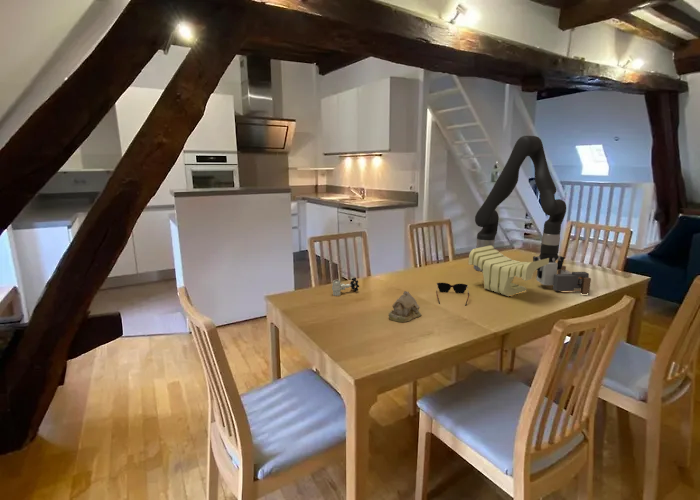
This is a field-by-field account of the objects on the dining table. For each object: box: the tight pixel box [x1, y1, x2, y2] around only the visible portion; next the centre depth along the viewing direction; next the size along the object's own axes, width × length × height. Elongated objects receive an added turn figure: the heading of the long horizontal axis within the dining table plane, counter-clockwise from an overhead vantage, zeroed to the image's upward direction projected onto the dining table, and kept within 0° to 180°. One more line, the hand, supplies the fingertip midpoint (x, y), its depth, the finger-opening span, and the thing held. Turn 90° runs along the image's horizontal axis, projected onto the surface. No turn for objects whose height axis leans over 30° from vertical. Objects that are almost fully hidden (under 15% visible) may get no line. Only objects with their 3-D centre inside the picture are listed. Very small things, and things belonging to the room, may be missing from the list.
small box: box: [535, 259, 558, 286], centre depth 187 cm, size 8×6×10 cm
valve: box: [331, 277, 360, 297], centre depth 182 cm, size 7×7×12 cm
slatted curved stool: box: [468, 245, 549, 297], centre depth 182 cm, size 30×16×18 cm, turn 33°
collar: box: [552, 271, 590, 292], centre depth 181 cm, size 14×3×8 cm, turn 92°
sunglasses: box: [435, 282, 470, 307], centre depth 174 cm, size 14×16×5 cm
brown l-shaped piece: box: [557, 265, 592, 294], centre depth 186 cm, size 10×21×8 cm, turn 2°
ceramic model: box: [388, 290, 422, 323], centre depth 155 cm, size 14×11×10 cm
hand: (546, 277), depth 187 cm, fingers closed on small box, 5 cm apart
